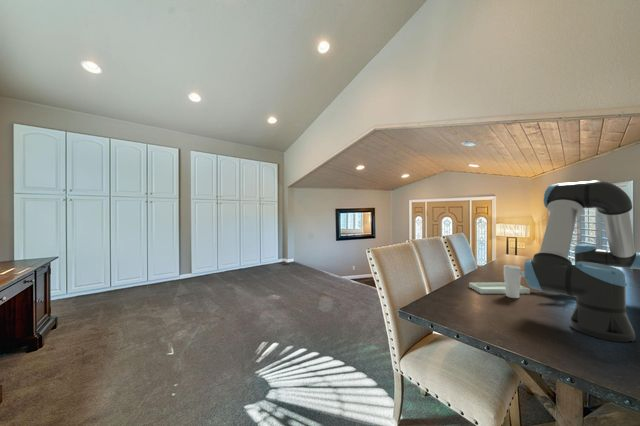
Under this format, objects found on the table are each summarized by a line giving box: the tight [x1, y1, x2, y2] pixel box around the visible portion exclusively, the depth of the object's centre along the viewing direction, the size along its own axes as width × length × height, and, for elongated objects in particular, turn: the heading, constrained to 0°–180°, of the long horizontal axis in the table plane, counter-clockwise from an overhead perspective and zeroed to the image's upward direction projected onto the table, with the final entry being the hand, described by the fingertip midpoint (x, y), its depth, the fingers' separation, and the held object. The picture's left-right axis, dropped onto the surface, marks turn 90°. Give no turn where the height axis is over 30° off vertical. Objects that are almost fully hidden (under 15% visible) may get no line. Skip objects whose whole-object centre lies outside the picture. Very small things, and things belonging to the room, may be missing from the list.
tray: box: [468, 281, 531, 295], centre depth 134 cm, size 24×12×2 cm, turn 88°
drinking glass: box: [503, 264, 522, 299], centre depth 124 cm, size 7×7×15 cm
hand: (528, 277), depth 125 cm, fingers open, 13 cm apart
